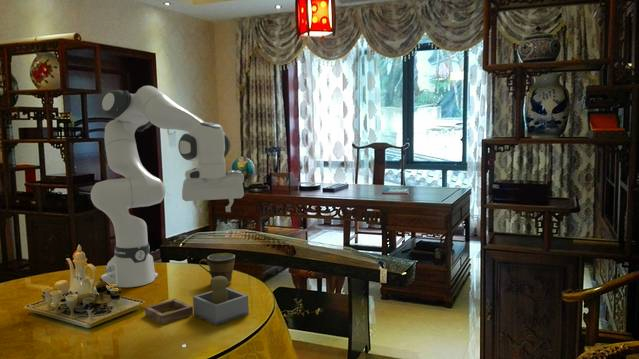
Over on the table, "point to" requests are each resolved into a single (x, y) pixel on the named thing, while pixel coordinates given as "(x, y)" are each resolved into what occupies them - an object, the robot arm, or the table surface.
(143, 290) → the table surface
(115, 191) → the robot arm
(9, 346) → the table surface
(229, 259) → the ceramic cup
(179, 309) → the socket collar
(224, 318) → the bin
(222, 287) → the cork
